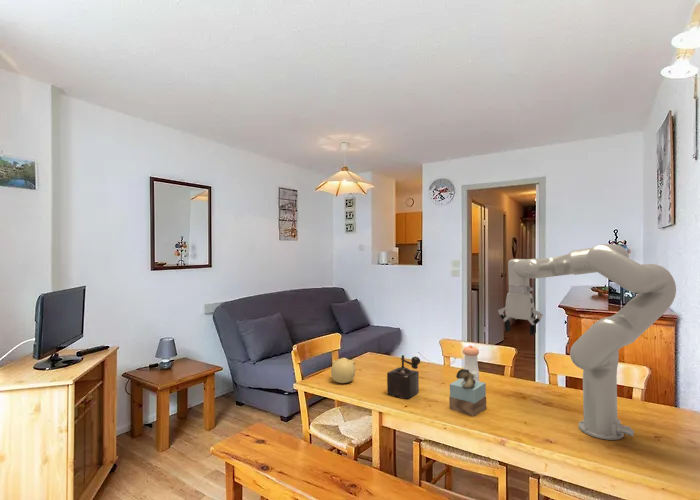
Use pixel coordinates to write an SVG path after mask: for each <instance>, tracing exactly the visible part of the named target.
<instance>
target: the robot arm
mask: <svg viewBox="0 0 700 500" xmlns="http://www.w3.org/2000/svg"><path fill="white" fill-rule="evenodd" d="M507 265H508V266H507V267H508V268H507V269H508V270H507V271H508V292H507V294H506V298H505V306H504V307H502V308H500V309H498V310H497V312H498V314H499V317H500V318H501V319H502V321H503V322H504V330H505V333H508V332H511V321H510V319H518V320H525V321H528V322H529V323H530V325H529V336H534V335H535V334H536V333H537V324H538V323H539V322H540V321H541V320H542V318H543V316H544V315H543V313H542V312H540V311H538V310H537V309H535V303H534V297H533V294H532V293H530V292H533V291H534V288H533V287H531V286H530V279H542V278H543V279H544V278H551V277H559V276H560V277H561V276H569V275H575V276H577V275H578V276H579V275H587V274H593V273H598V274H599V275H601V276H603V277H604V278H606V279H608V280H609V281H612V282H613V283H615V284H616V285H618V286H620V287H621V288H623V289H625V290H626V291H629V292H630V293H633V294H636V295H635V296H634V297H632V298H631V299H630V300H629V301H628V302H627V303H625V305H624V306H623V307H622V308H621V309H619V310H618V311H616V313H615V314H613V315H610V316H606V317H602V318H600V319H599V320H597V321H595V322H594V323H593V324H592V325H591V326H590V327H588V329H587V330H586V331H585V332H584V333H583V334H582V335H581V336H579V338H578V339H577V340H576V341H575V342H574V343H573V344H572V345H571V347H570V350H569V355H570V357H569V358H570V360H571V361H572V363H573V364H574V365H575V366H576V367H577V368H579V369H581V370H583V371H582V399H583V402H582V403H583V405H582V406H583V411H582V412H583V420H580V421H579V422H578V429H579V430H580V431H581V432H583V434H586V435H589V436H590V437H594V438H597V439H601V440H608V441H614V440H615V441H616V440H620V439H623V437H624V436H625V435H627V436H630V437H634V435H635V431H634V429H632V427H631V426H629V425H623V424H622V423H621V419H618V389H617V388H618V383H617V382H618V381H617V380H618V377H617V376H618V367H619V366H618V365H619V358H620V357H619V350H620V349H622V348H623V347H626V346H629V345H631V344H633V343H635V341H636V340H637V339H638V338H639V337H640V336H641V335H642V334H643V333H644V332H646V331H647V330H648V329H649V328H650V327H651V326H652V325H653V324H655V322H656V321H658V320H659V318H661V317H662V316H663V315H664V314H665V313H666V312H667V311H668V310H669V308H670V307H671V306H672V304H673V302H674V300H675V298H676V294H677V285H676V284H677V283H676V281H675V278H674V277H673V275H672V274H671V272H670V271H669V270H668V269H667V268H665V267H664V266H661V265H659V264H654V263H653V264H652V263H644V264H643V263H642V264H641V263H639V262H637V261H635V260H633V259H631V258H630V256H629V253H628V251H627V249H625V247H623V246H622V245H619V244H616V243H615V244H611V243H610V244H609V243H607V244H606V243H605V244H603V243H602V244H597V245H595V246H593V247H588V248H582V249H576V250H571V251H570V252H568V253H567V254H564V255H557V256H552V257H540V258H539V257H538V258H527V259H525V258H512V259H509V260H508V264H507ZM504 312H505V314H504ZM535 317H536V318H535Z"/></svg>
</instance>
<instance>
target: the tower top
mask: <svg viewBox="0 0 700 500" xmlns="http://www.w3.org/2000/svg"><path fill="white" fill-rule="evenodd" d="M463 379H464V378H463ZM463 379H456V380H454V381H453V382H451V383H450V384H449V397H452V398H456V399H459V400H463V401H467V402H471V403H474V404H475V403H476V402H478V401H479V400H481V399H482V398H483V397H487V395H486V394H487V391H486V390H487V389H486V386H487V385H486V382H482V381H480V380H479V381H480V382H479V381H475V382H476V383H475V385H474V387H473V388H472V389H464V388H462V386H463V385H464V384H465V382H464V383H463V384H461V382H462V381H463Z"/></svg>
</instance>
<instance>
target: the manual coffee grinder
mask: <svg viewBox="0 0 700 500" xmlns="http://www.w3.org/2000/svg"><path fill="white" fill-rule="evenodd" d="M400 357H401V358H400V361H401V366H400V367H396V368H394V369H393V370H390V371H388V372H387V373H386V375H387V376H386V381H387V382H386V384H387V386H386V387H387V389H386V390H387V392H386V393H387V396H391V397H395V398H398V399H399V398H400V399H404V400H409V399H411V398H414V397H415V396H417V395H418V394H419V392H420V389H419V388H420V387H419V385H420V384H419V374H420V373H419V370H417V369H418V368H419V367H418V366H419V365H420V364H421V359H420V357H418V356H412V357H411V359H410V360H411V361H408V360H407V359H405V355H404V354H402V355H401V356H400ZM405 363H406V364H409V365H410V366H411V368H412V369H410V368H408V367H406V366H405Z"/></svg>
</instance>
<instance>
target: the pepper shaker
mask: <svg viewBox="0 0 700 500" xmlns="http://www.w3.org/2000/svg"><path fill="white" fill-rule="evenodd" d="M462 353H463V354H462V355H464V367H463V369H466V370H469V373H471V371H472V370H474V371H476V372H477V374H478V375H477V378H473V379H474V380H475V381H479V382H481V381H480V370H479V366H478V364H479V363H478V355H479V354H480V350H479V348H477V347H475V346H473V345H471V344H470V345H468V346H465V347H463V349H462Z"/></svg>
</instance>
